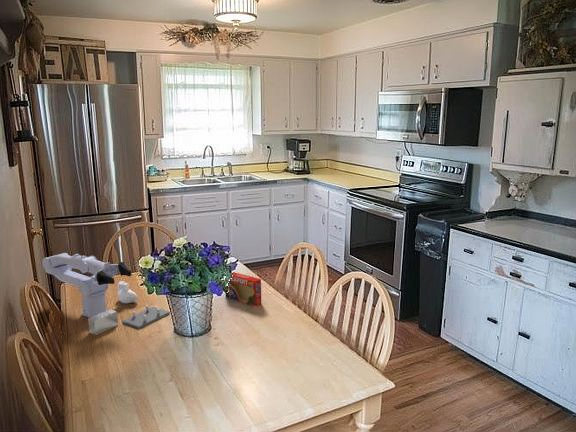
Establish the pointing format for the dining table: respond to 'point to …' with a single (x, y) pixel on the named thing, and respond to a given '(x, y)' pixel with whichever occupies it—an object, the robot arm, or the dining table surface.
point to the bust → (126, 293)
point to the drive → (102, 322)
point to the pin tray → (145, 317)
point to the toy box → (245, 289)
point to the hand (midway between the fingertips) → (122, 277)
